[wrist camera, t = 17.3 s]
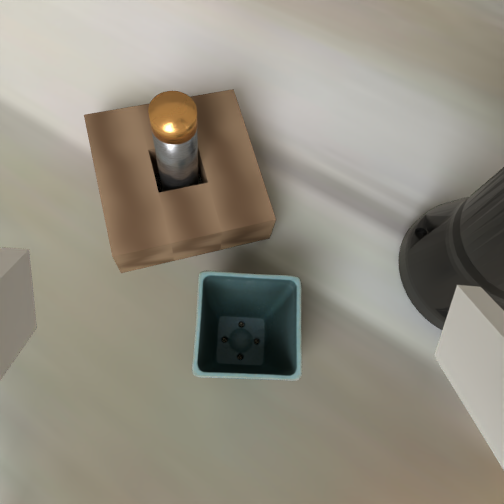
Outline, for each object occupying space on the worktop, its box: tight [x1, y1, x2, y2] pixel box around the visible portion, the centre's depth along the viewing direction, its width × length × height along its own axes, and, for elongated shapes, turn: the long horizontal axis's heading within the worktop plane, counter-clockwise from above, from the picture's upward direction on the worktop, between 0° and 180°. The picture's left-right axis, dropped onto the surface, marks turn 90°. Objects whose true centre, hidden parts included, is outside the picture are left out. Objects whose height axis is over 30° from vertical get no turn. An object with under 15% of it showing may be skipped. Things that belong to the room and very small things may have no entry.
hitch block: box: [84, 89, 276, 273], centre depth 50 cm, size 16×16×5 cm
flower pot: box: [192, 271, 302, 381], centre depth 43 cm, size 9×9×9 cm
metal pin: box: [148, 91, 199, 192], centre depth 46 cm, size 4×4×14 cm
